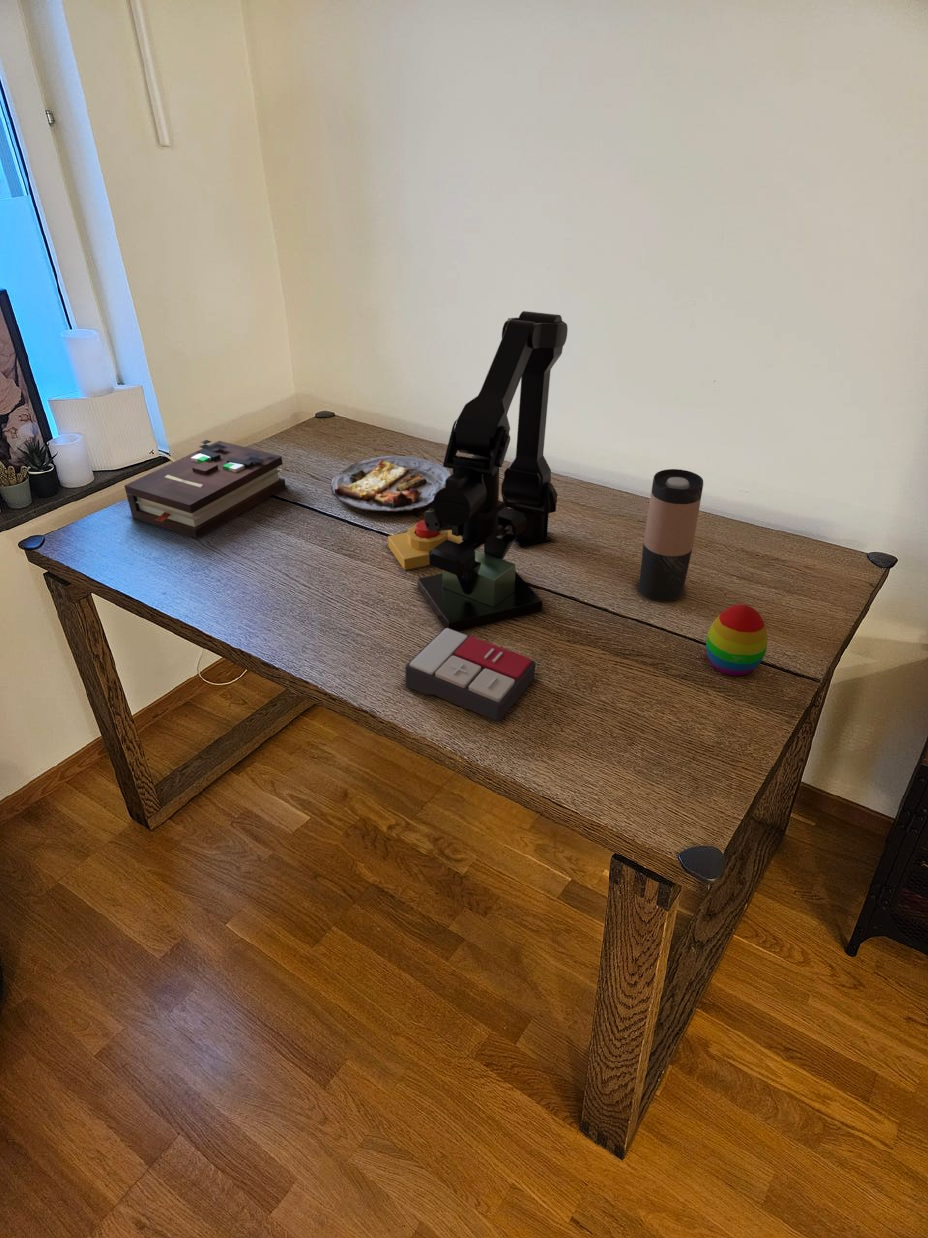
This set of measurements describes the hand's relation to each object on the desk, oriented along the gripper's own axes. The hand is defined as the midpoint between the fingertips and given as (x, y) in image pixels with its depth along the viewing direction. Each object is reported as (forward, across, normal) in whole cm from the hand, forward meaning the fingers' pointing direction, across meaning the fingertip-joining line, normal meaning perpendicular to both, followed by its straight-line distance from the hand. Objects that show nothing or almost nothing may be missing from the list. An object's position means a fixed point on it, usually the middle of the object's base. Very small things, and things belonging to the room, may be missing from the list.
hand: (478, 585), depth 130 cm
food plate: (+3, -23, -38) cm, 44 cm away
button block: (+3, -8, -16) cm, 18 cm away
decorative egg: (+3, -7, +40) cm, 40 cm away
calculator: (+3, +18, +11) cm, 22 cm away
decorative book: (+3, +2, -64) cm, 64 cm away
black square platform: (+3, 0, 0) cm, 3 cm away
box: (+1, 0, 0) cm, 1 cm away
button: (-1, -8, -16) cm, 18 cm away
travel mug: (+3, -20, +23) cm, 30 cm away
